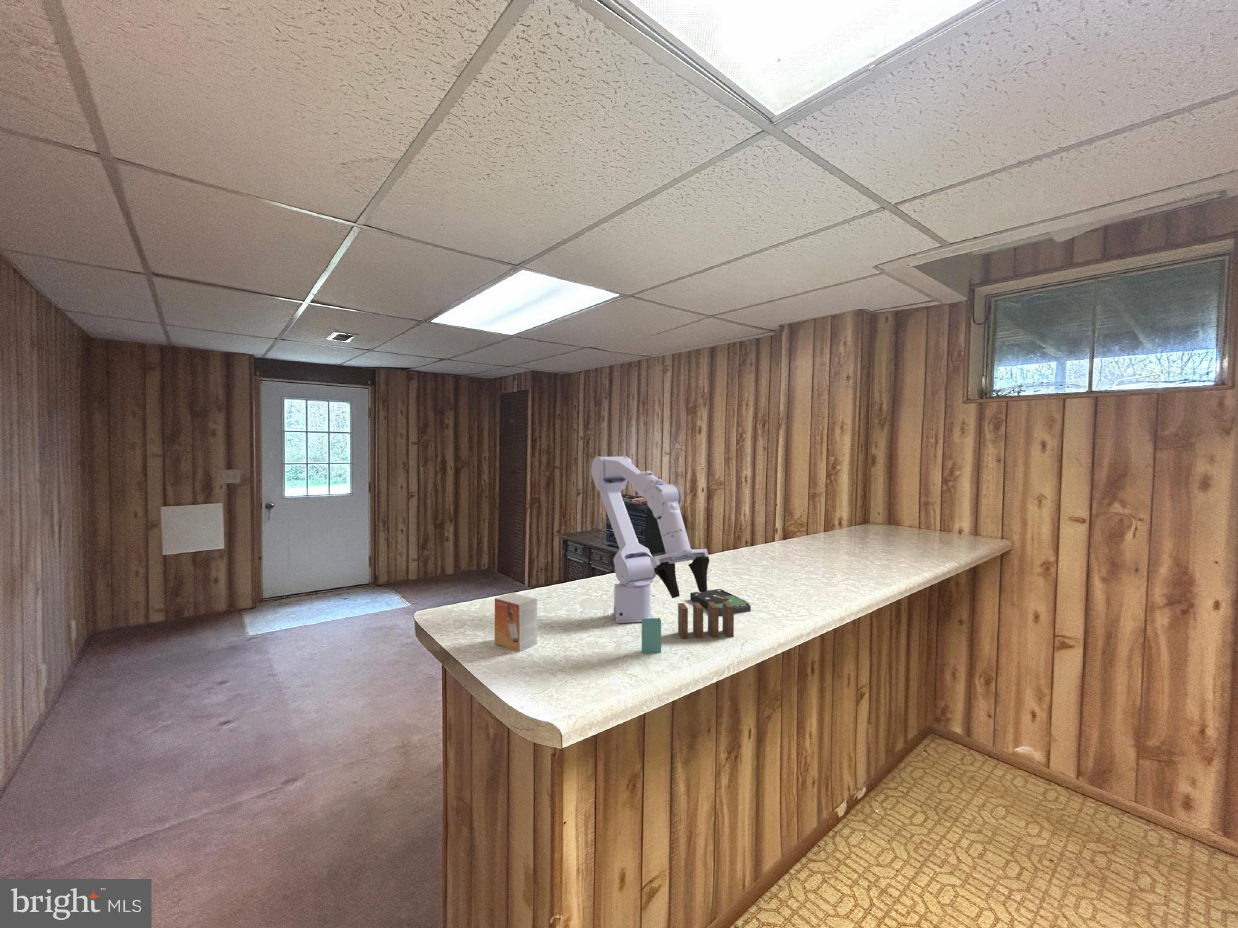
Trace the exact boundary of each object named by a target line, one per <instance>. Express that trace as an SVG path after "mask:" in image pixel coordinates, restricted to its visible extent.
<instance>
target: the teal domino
mask: <svg viewBox="0 0 1238 928" xmlns="http://www.w3.org/2000/svg"><path fill="white" fill-rule="evenodd" d="M641 653H642V654H658V653H662V619H661V617H657V618H656V617H653V618H647V619H642V622H641Z"/></svg>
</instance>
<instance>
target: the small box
mask: <svg viewBox="0 0 1238 928" xmlns="http://www.w3.org/2000/svg"><path fill="white" fill-rule="evenodd" d="M494 644H496V645H499V646H501V645H502V646H501V647H503V648H507V649H509V650H512V651H515V652H517V653H520V652H523V651H525V650H527V649H529V648H531V647H534V646H536V645H537V644H538V598H536V597H530V596H526V595H523V594H519V593H515V592H510V593H507V594H504V595H501V596H498V597H495V598H494ZM535 644H536V645H535ZM533 645H534V646H533Z"/></svg>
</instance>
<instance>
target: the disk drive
mask: <svg viewBox="0 0 1238 928" xmlns="http://www.w3.org/2000/svg"><path fill="white" fill-rule="evenodd" d="M689 597H690V599H689V600H690V601H691V602H693V603H700V605H701V606H702V607H703V609H706V610H707V611H708V602H714V603H715V604H716V605H717V606H718V607H719V617H723V602H729V603H730V604H731V605H732V606H733V607H734V615H735V614H742V613H743V614H744V613H748V612H749V613H750V612H751V611H752V609H751V608H752V605H751V604H750V603H749V602H747V600H745V599H742V598H740V597H739V596H736V595H734V594H732V593H730V592H728V591H726V590H723V589H721V588H717V589H709V590H708V589H707V591H704V592H701V593H700V592H699V591H693V592H690V596H689Z"/></svg>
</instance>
